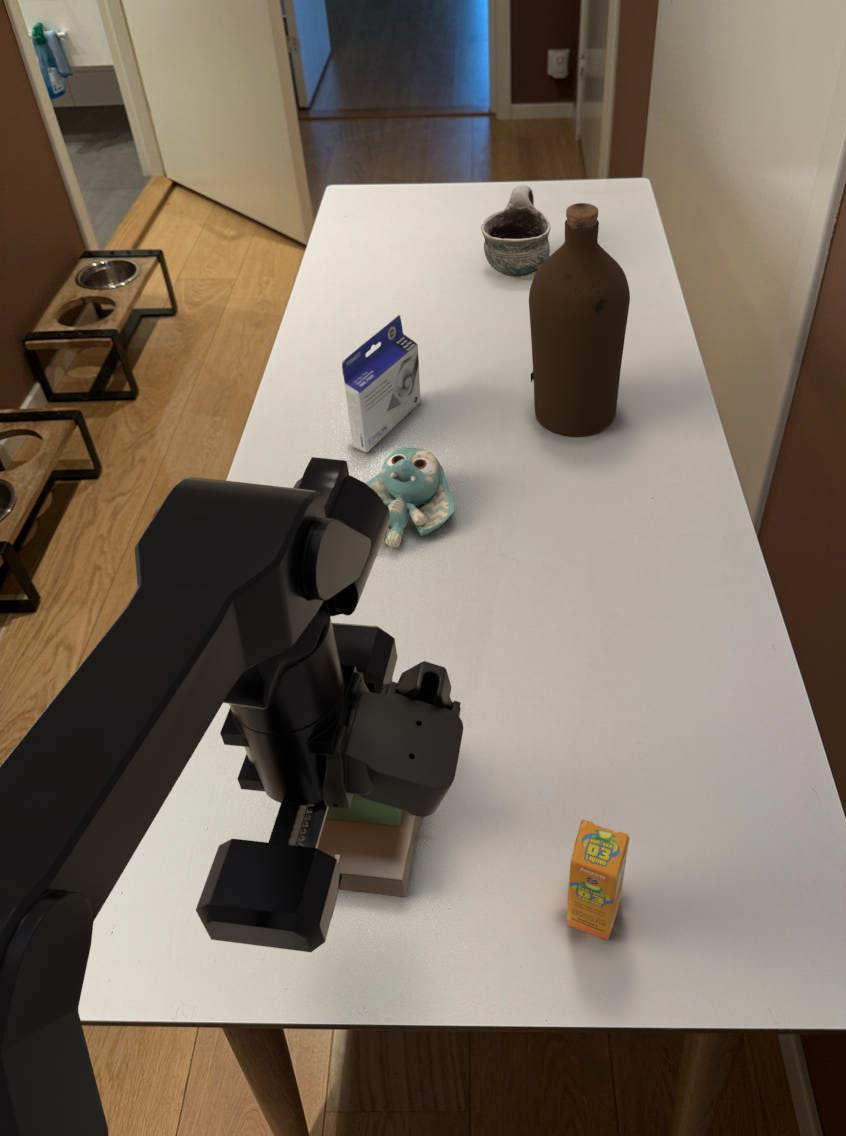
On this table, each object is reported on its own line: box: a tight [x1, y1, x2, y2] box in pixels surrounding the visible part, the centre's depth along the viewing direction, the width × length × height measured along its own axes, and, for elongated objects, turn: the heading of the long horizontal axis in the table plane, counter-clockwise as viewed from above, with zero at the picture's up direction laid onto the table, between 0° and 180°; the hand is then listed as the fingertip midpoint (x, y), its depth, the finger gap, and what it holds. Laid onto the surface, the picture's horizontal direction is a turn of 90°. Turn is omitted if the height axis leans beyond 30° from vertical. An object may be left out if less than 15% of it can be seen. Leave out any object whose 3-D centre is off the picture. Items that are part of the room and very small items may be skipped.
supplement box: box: [566, 818, 630, 941], centre depth 64 cm, size 3×3×10 cm
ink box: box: [341, 314, 421, 454], centre depth 107 cm, size 12×2×12 cm, turn 149°
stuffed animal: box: [364, 446, 455, 548], centre depth 97 cm, size 11×7×12 cm
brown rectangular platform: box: [297, 810, 423, 898], centre depth 73 cm, size 12×12×3 cm
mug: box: [480, 185, 552, 278], centre depth 135 cm, size 10×12×10 cm
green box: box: [307, 794, 403, 826], centre depth 70 cm, size 8×4×6 cm, turn 83°
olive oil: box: [528, 202, 631, 437], centre depth 103 cm, size 11×11×25 cm
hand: (330, 843), depth 58 cm, fingers open, 9 cm apart
